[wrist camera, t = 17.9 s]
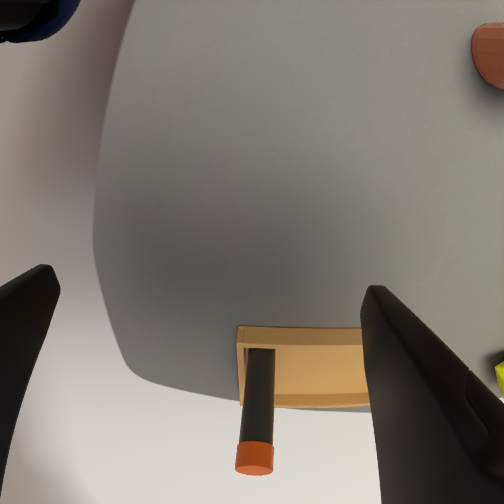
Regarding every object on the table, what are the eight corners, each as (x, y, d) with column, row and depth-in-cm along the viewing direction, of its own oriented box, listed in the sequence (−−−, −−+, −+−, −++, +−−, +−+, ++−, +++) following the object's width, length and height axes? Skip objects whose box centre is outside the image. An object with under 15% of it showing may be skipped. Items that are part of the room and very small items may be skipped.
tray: (241, 391, 34) (240, 406, 32) (238, 325, 27) (236, 342, 26) (372, 391, 33) (374, 405, 31) (403, 326, 26) (409, 343, 25)
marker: (247, 352, 29) (235, 474, 19) (247, 334, 27) (233, 464, 17) (276, 353, 29) (271, 476, 19) (277, 335, 27) (273, 466, 17)
